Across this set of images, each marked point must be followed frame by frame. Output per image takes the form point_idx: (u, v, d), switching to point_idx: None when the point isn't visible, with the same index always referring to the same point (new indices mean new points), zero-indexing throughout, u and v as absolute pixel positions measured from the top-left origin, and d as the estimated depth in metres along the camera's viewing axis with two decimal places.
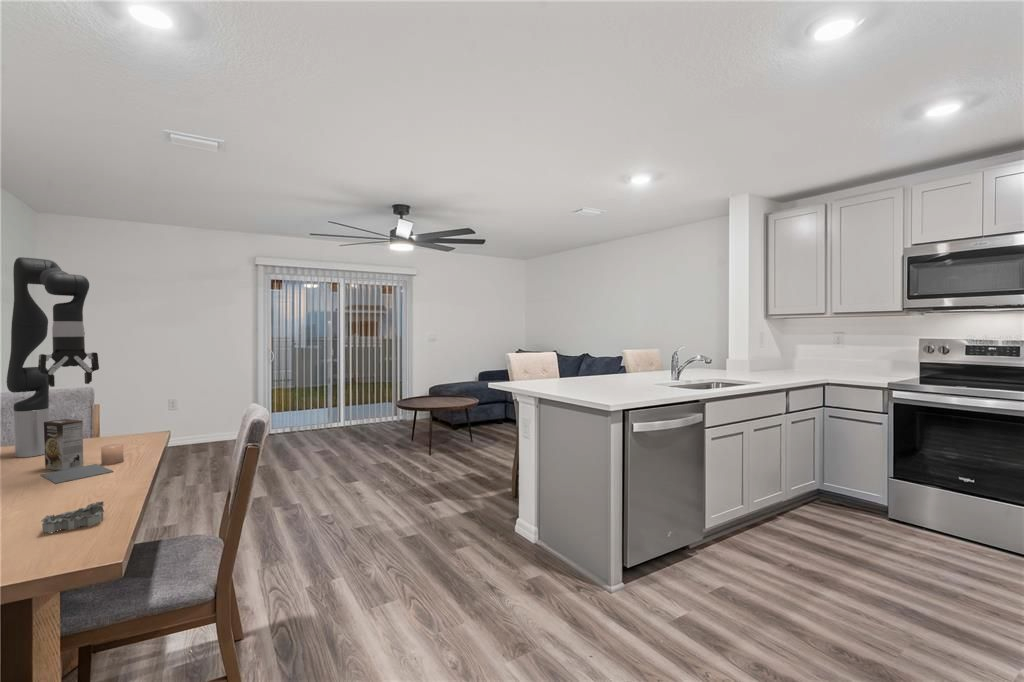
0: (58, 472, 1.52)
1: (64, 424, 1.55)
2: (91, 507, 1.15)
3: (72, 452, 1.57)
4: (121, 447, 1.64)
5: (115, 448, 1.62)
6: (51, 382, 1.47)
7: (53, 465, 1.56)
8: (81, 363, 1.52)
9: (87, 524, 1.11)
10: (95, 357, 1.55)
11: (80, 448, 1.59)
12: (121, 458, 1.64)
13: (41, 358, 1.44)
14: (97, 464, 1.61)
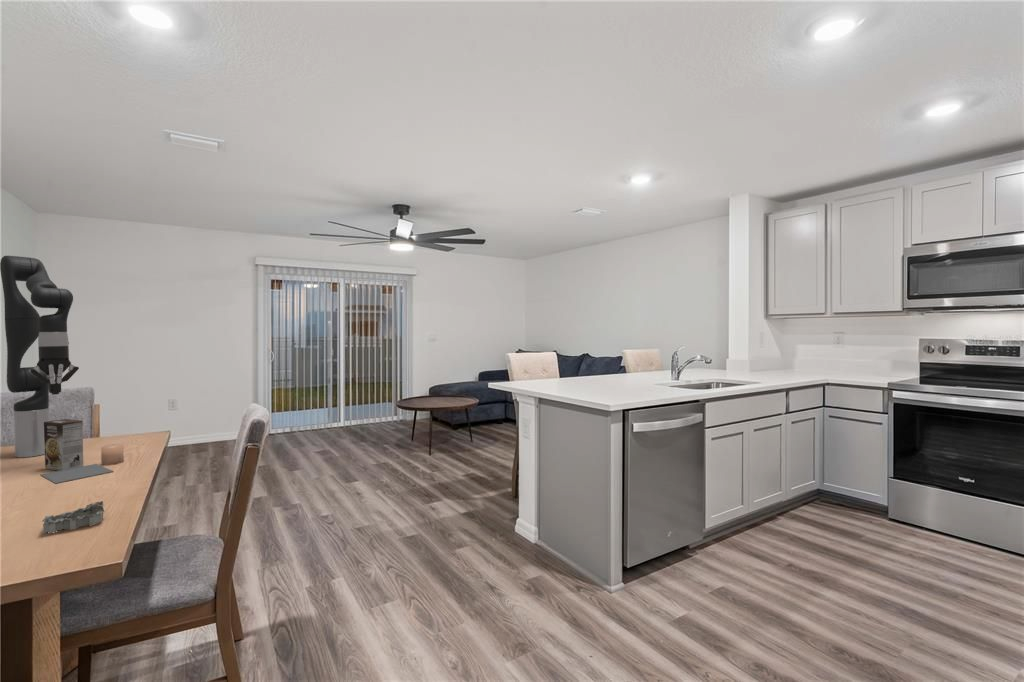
0: (58, 472, 1.52)
1: (64, 424, 1.55)
2: (91, 507, 1.15)
3: (72, 452, 1.57)
4: (121, 447, 1.64)
5: (115, 448, 1.62)
6: (52, 390, 1.61)
7: (53, 465, 1.56)
8: (59, 372, 1.62)
9: (89, 523, 1.11)
10: (74, 370, 1.66)
11: (80, 448, 1.59)
12: (121, 458, 1.64)
13: (33, 373, 1.57)
14: (97, 464, 1.61)
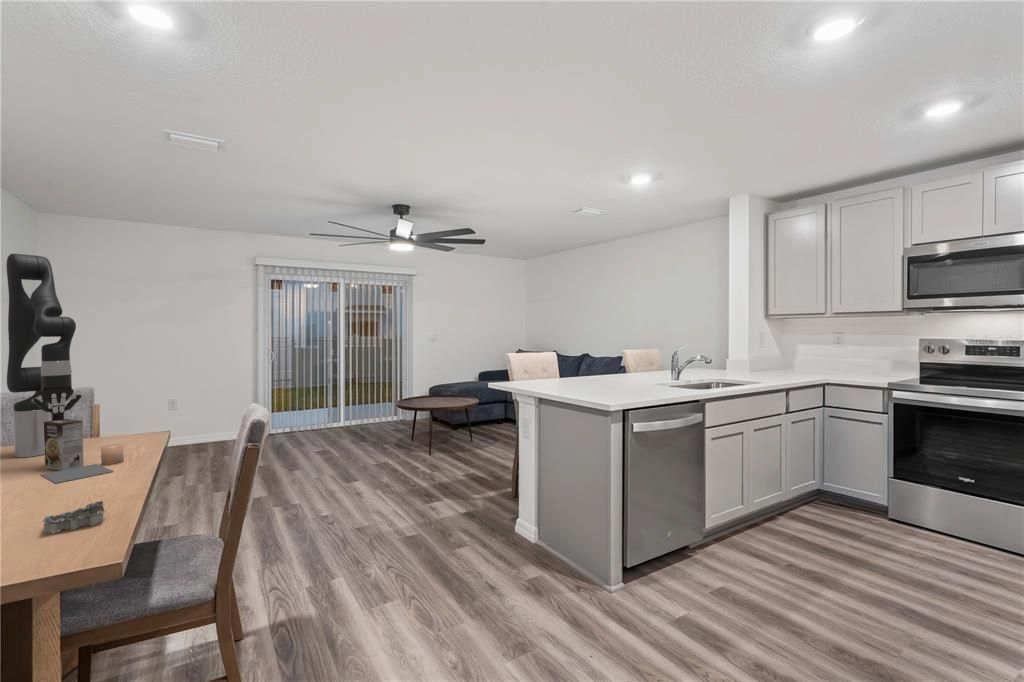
0: (58, 472, 1.52)
1: (64, 424, 1.55)
2: (91, 507, 1.15)
3: (72, 452, 1.57)
4: (121, 447, 1.64)
5: (115, 448, 1.62)
6: (55, 419, 1.60)
7: (53, 465, 1.56)
8: (62, 401, 1.61)
9: (89, 523, 1.11)
10: (76, 399, 1.65)
11: (80, 448, 1.59)
12: (121, 458, 1.64)
13: (36, 403, 1.56)
14: (97, 464, 1.61)
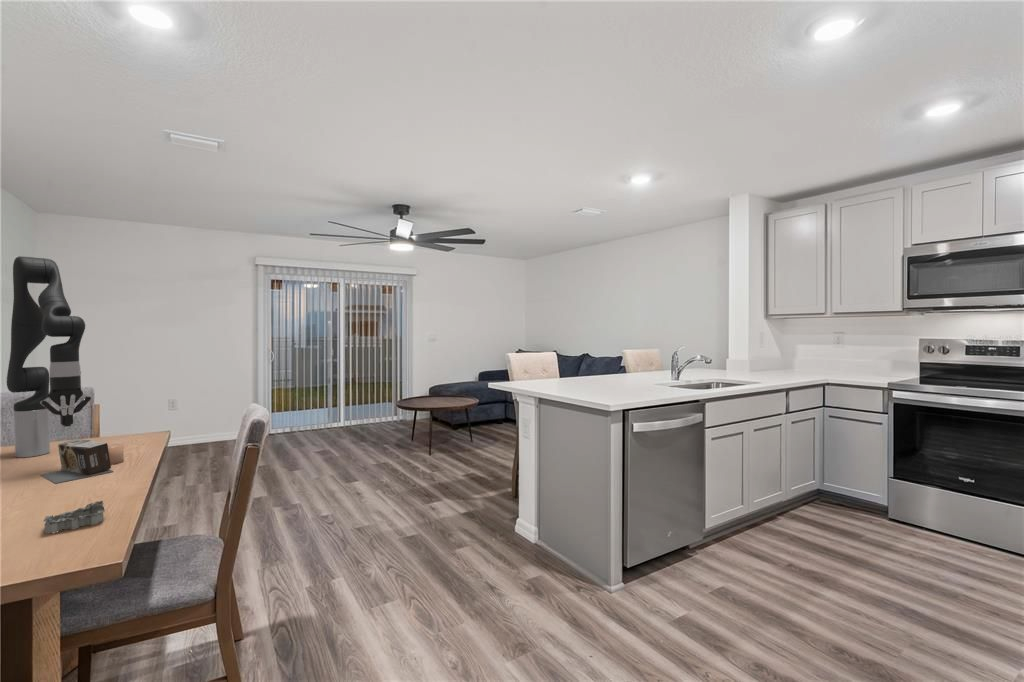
0: (58, 472, 1.52)
1: (91, 474, 1.50)
2: (91, 507, 1.15)
3: None
4: (121, 447, 1.64)
5: (115, 448, 1.62)
6: (64, 422, 1.55)
7: (61, 458, 1.54)
8: (71, 403, 1.56)
9: (90, 523, 1.11)
10: (86, 401, 1.60)
11: None
12: (121, 458, 1.64)
13: (44, 405, 1.51)
14: None
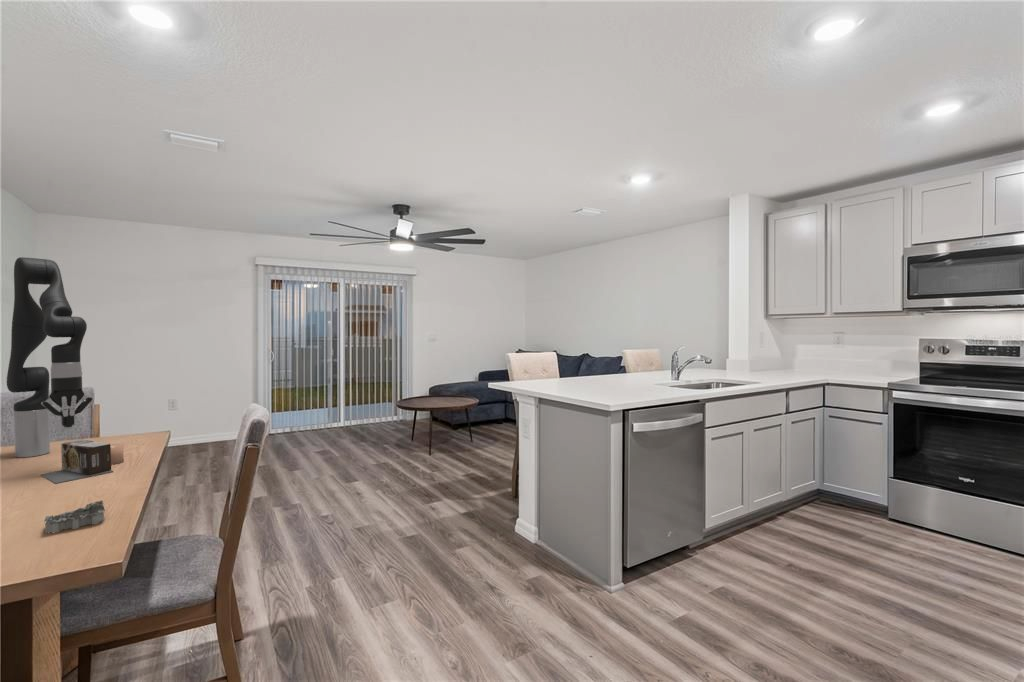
0: (58, 472, 1.52)
1: (91, 474, 1.50)
2: (91, 506, 1.16)
3: None
4: (121, 447, 1.64)
5: (115, 448, 1.62)
6: (65, 423, 1.55)
7: (63, 457, 1.54)
8: (72, 404, 1.55)
9: (91, 522, 1.12)
10: (87, 401, 1.59)
11: None
12: (121, 458, 1.64)
13: (45, 406, 1.50)
14: None
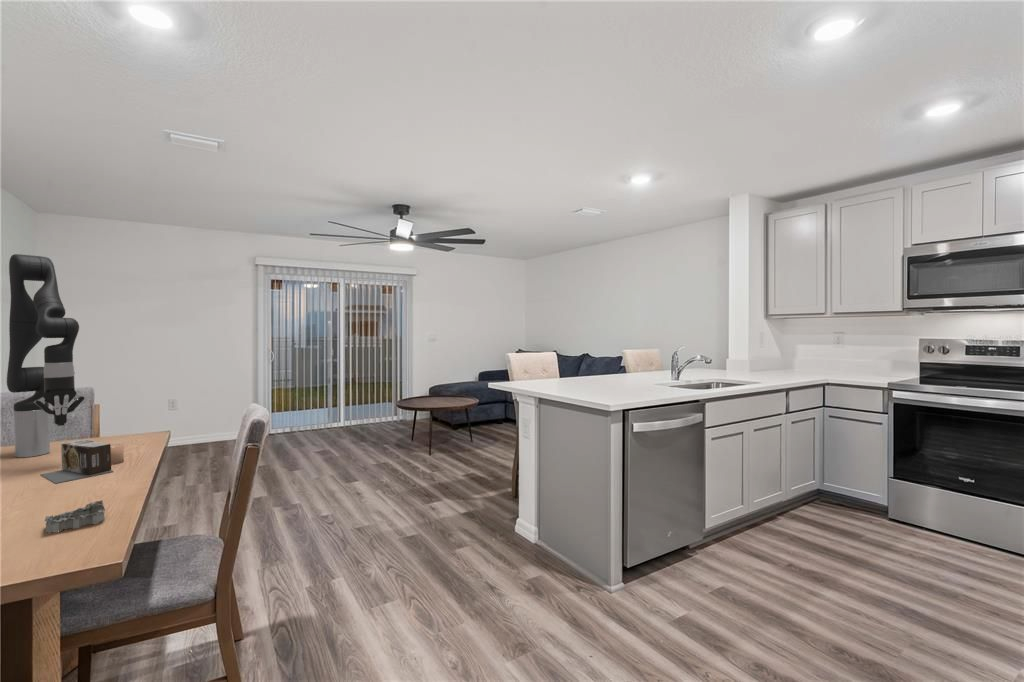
0: (58, 472, 1.52)
1: (91, 474, 1.50)
2: (90, 506, 1.16)
3: None
4: (121, 447, 1.64)
5: (115, 448, 1.62)
6: (58, 421, 1.59)
7: (63, 457, 1.54)
8: (65, 403, 1.60)
9: (92, 522, 1.12)
10: (79, 400, 1.63)
11: None
12: (121, 458, 1.64)
13: (38, 405, 1.55)
14: None
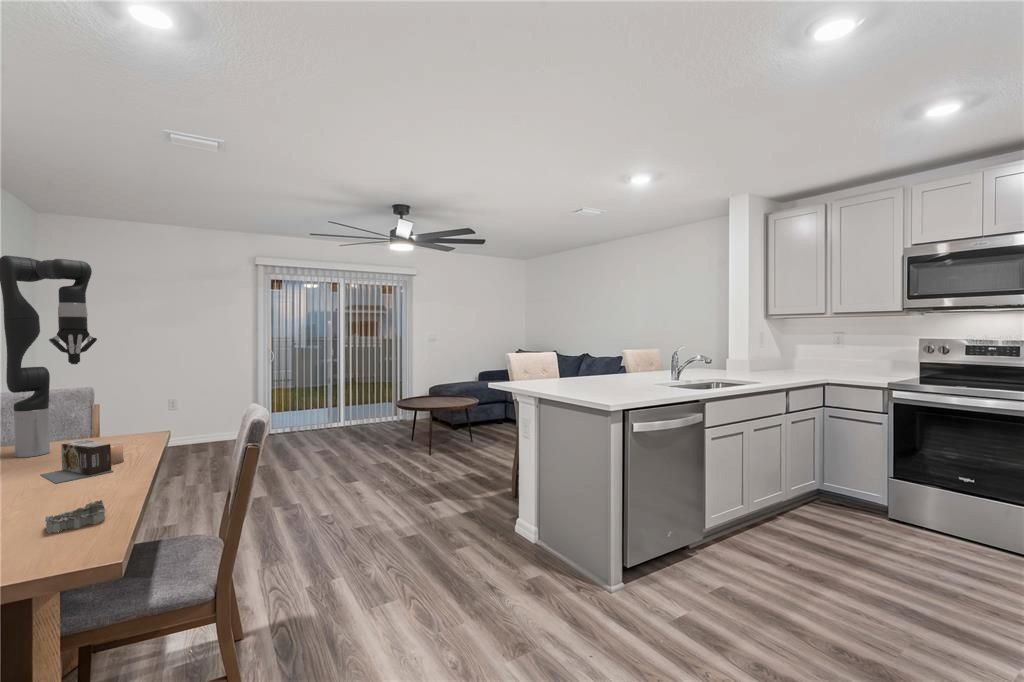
0: (58, 472, 1.52)
1: (91, 474, 1.50)
2: (90, 506, 1.16)
3: None
4: (120, 447, 1.64)
5: (114, 448, 1.62)
6: (72, 360, 1.65)
7: (63, 457, 1.54)
8: (78, 342, 1.65)
9: (92, 522, 1.12)
10: (92, 341, 1.69)
11: None
12: (120, 458, 1.64)
13: (53, 342, 1.60)
14: None
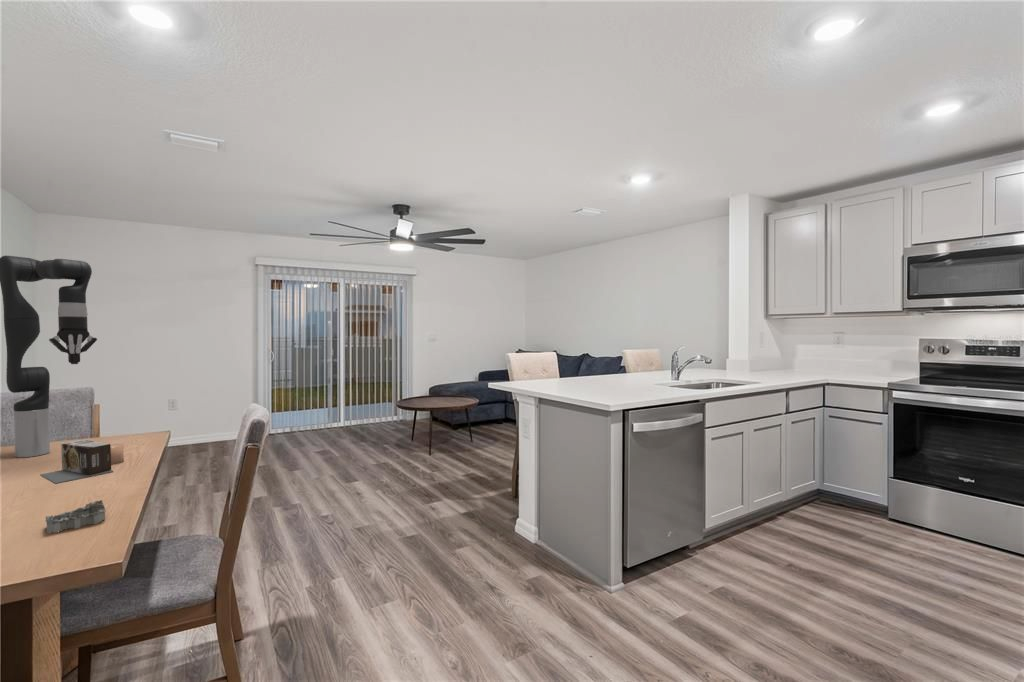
0: (58, 472, 1.52)
1: (91, 474, 1.50)
2: (90, 506, 1.16)
3: None
4: (120, 447, 1.64)
5: (114, 448, 1.62)
6: (72, 360, 1.65)
7: (63, 457, 1.54)
8: (78, 342, 1.65)
9: (93, 522, 1.12)
10: (92, 341, 1.69)
11: None
12: (120, 458, 1.64)
13: (53, 342, 1.60)
14: None
